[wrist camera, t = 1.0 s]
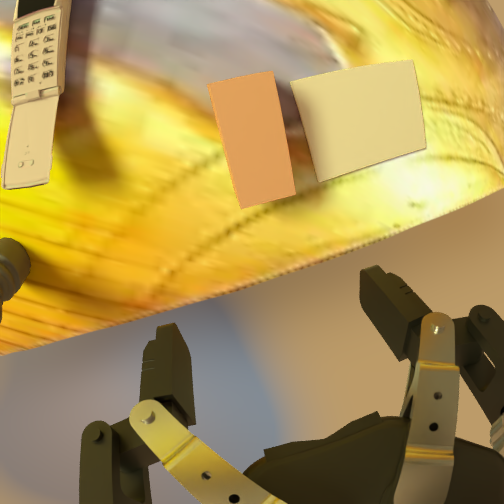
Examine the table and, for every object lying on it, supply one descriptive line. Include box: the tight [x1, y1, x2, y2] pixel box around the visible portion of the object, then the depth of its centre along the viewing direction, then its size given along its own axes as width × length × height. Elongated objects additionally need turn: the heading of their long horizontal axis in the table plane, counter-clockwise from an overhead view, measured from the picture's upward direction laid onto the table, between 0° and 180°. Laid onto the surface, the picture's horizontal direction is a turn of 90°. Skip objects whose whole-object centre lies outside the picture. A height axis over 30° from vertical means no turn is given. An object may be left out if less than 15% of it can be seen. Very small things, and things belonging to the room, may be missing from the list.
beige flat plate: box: [290, 60, 426, 183], centre depth 27 cm, size 11×15×1 cm
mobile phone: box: [1, 0, 72, 190], centre depth 16 cm, size 6×6×25 cm
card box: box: [207, 71, 296, 209], centre depth 25 cm, size 11×5×5 cm, turn 12°
